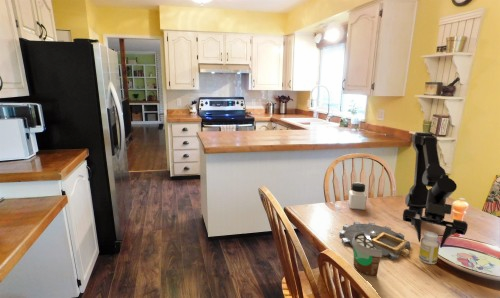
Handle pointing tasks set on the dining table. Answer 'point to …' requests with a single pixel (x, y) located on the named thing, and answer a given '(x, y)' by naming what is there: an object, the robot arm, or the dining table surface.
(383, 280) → the dining table surface
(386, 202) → the dining table surface
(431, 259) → the supplement bottle
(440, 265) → the dining table surface
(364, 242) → the food container
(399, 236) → the sprocket
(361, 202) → the medicine bottle
